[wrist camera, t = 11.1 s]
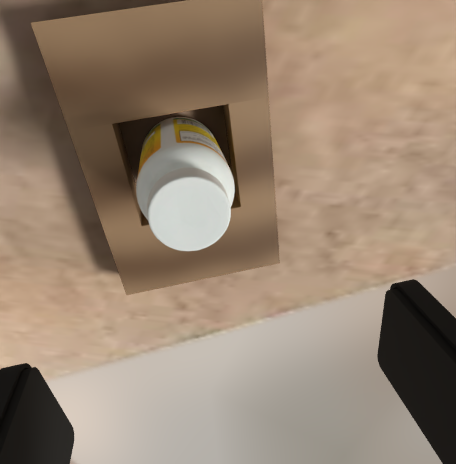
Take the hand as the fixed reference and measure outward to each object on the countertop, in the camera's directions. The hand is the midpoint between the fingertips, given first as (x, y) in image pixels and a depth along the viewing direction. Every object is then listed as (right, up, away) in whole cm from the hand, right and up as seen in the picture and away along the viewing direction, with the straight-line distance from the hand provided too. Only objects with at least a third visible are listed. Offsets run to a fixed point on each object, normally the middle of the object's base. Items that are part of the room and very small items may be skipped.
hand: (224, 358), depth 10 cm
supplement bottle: (-3, +9, +16) cm, 19 cm away
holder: (-3, +9, +16) cm, 18 cm away
